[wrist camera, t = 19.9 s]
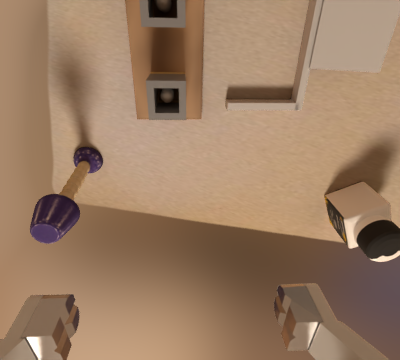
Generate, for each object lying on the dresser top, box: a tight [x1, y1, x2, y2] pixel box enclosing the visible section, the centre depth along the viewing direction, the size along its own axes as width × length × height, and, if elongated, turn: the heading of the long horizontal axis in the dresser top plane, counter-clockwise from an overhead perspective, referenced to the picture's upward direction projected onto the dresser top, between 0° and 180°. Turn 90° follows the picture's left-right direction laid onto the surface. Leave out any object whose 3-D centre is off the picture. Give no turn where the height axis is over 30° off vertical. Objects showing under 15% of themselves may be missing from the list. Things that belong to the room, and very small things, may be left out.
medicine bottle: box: [324, 182, 400, 262], centre depth 43 cm, size 7×7×12 cm
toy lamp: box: [30, 147, 103, 243], centre depth 34 cm, size 5×5×17 cm
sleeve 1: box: [139, 0, 186, 28], centre depth 28 cm, size 4×4×6 cm
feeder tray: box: [225, 0, 400, 110], centre depth 32 cm, size 18×19×5 cm
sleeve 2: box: [146, 72, 186, 120], centre depth 33 cm, size 4×4×6 cm
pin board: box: [125, 0, 204, 119], centre depth 31 cm, size 9×20×6 cm, turn 179°
